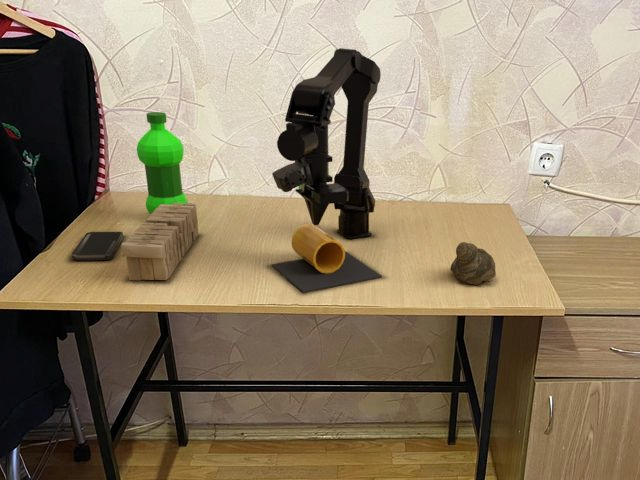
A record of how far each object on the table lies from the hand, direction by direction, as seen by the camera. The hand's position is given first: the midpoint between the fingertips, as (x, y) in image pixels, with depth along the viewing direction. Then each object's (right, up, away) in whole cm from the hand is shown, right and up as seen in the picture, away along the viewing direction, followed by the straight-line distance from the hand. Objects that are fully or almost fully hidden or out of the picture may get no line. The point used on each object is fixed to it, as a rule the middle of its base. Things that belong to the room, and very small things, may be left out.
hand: (315, 224), depth 151 cm
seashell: (+35, -11, +3) cm, 37 cm away
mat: (+2, -10, +1) cm, 10 cm away
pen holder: (-3, -3, +5) cm, 7 cm away
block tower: (-33, -7, +3) cm, 34 cm away
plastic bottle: (-40, +6, +25) cm, 48 cm away
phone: (-48, -4, +5) cm, 49 cm away
